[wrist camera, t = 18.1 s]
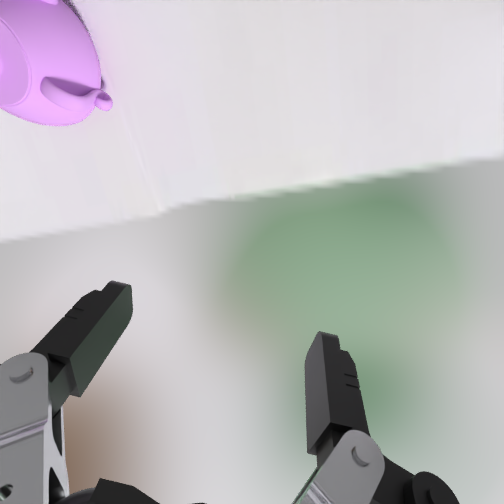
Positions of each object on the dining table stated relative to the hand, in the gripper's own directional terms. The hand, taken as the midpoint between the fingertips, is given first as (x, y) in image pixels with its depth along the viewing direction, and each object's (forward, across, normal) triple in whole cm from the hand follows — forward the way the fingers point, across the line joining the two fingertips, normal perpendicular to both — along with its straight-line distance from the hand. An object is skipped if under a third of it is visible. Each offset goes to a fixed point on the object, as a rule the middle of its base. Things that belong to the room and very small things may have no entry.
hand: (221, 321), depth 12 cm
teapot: (+40, +34, -5) cm, 53 cm away
